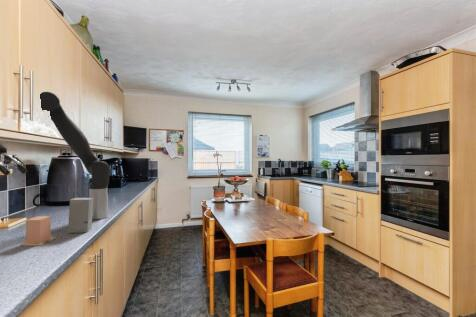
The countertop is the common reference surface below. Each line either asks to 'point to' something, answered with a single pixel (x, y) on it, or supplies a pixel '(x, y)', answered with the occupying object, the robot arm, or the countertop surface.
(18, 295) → the countertop surface
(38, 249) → the countertop surface
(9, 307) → the countertop surface
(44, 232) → the tan rectangular prism
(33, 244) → the wooden peg stand
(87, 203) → the skincare box
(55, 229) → the countertop surface
